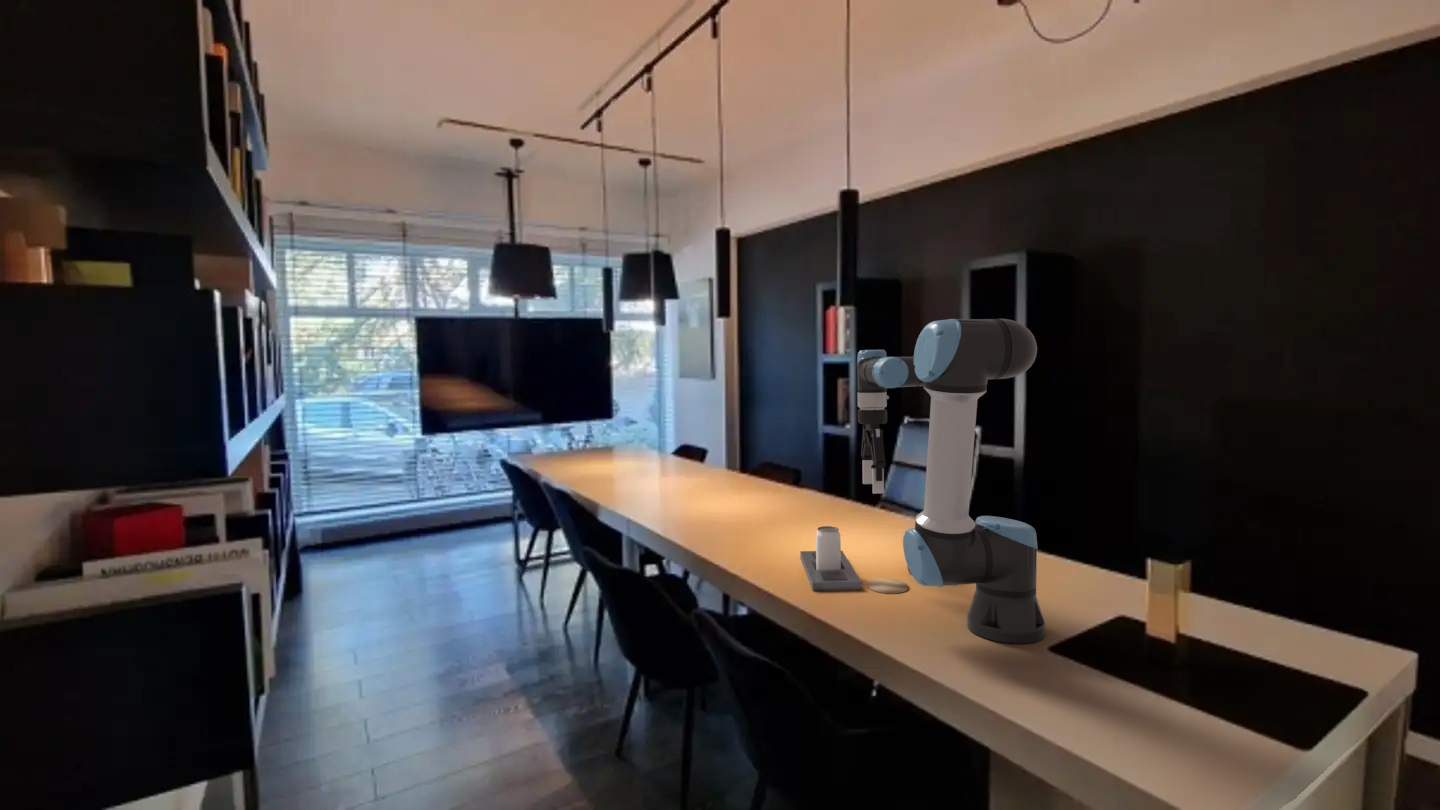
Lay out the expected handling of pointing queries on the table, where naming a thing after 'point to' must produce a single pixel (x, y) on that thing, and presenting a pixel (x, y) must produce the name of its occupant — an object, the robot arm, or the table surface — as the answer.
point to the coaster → (887, 586)
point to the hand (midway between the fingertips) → (872, 488)
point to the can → (828, 548)
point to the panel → (829, 574)
